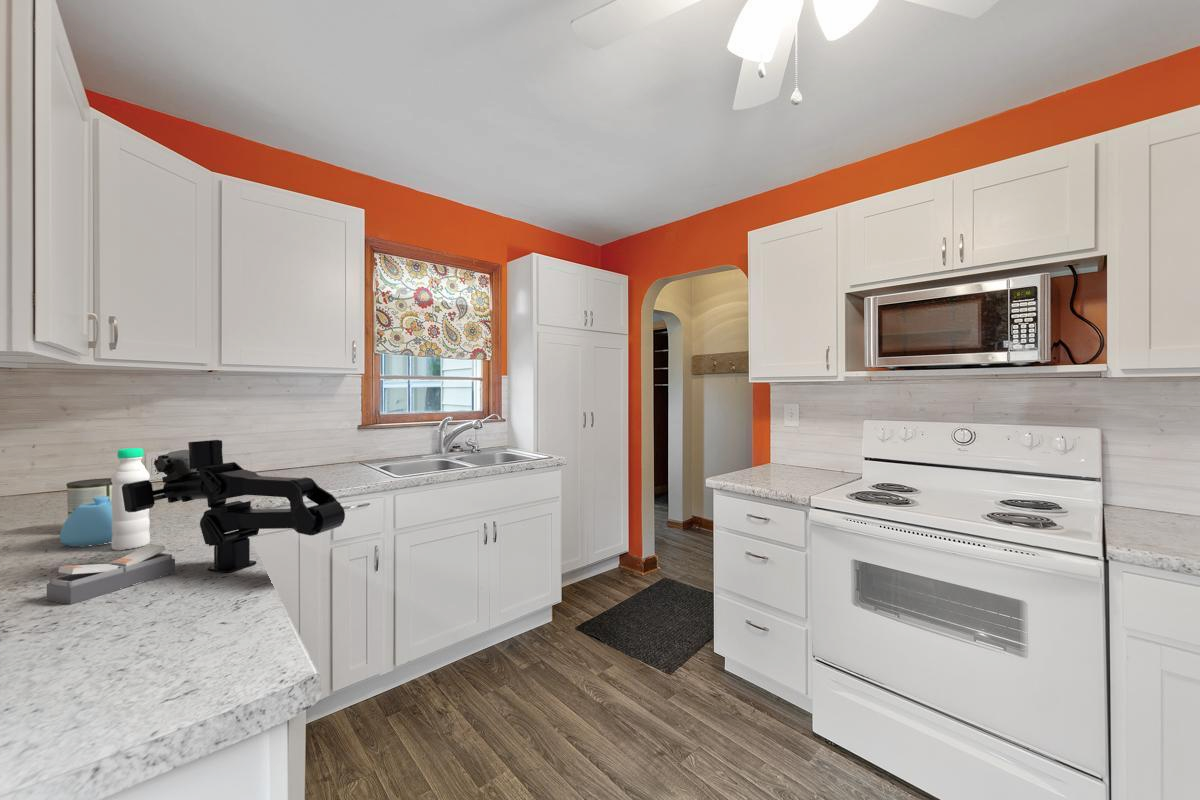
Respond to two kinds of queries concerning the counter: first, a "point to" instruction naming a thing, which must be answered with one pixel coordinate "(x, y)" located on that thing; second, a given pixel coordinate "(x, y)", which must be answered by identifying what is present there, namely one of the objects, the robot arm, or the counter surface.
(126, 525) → the white bottle
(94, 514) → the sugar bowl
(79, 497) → the coffee can
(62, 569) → the rocker
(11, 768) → the counter surface
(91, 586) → the rocker switch panel
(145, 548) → the block
